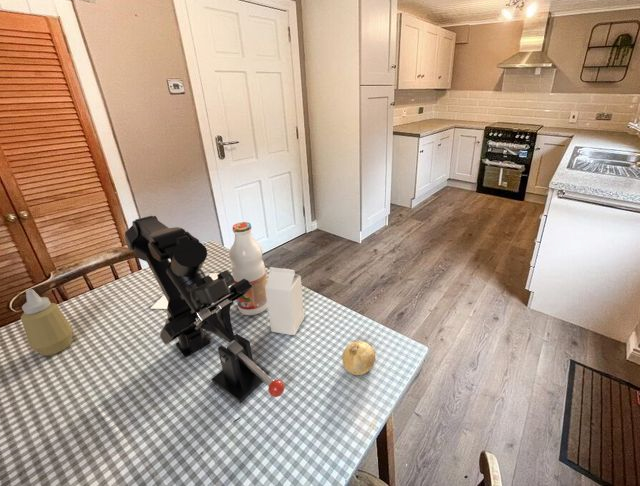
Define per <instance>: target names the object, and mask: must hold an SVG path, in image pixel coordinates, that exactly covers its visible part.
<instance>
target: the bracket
mask: <svg viewBox="0 0 640 486" xmlns="http://www.w3.org/2000/svg"><path fill="white" fill-rule="evenodd" d="M234 337H235V340H233V342H234V341H236V342H238V343H239V344H240V345H241V346H242V347H243V353H244V354H245V355H246V356H247V357H248V358H249V359H250V360H251V361H252V362H254V359H253V352H252V348H251V342H250V340H249V339H247V338H245V337H243V336H242V335H240V334H238V333H235V334H234ZM217 352H218V356H219V361H220V365H221V371H219V372H218V373H217V374H215V375H214V376H213V377H212V378H211V383H212V384H213V385H215V386H216V387H218V388H219V389H220V390H221V391H222V392H224V393H225V394H227V395H228V396H229V397H231V398H232V399H234V400H235V401H236V402H237V403H239V404H242V403H243V402H244V401H245V400H246V399H247V398H248V397H249V396H250V395H251V394H252V393H253V392H254V391H255V390H256V389H257V388H258V387H260V386H261V384H263V383H264V382H263V381H262V380H261V379H260V378H259V377H258V376H257V375H256V374H255V373H254V372H253V371H251V370H250V369H249V368H248V367H247V366H246V365H245V364H244V363H243V362H242V361H241V360H239V359H237V360H235V355H234V353H233V352H231V351H230V350H228V349H227V347H225V346H224V345H222V344H221V345H219V346H218V347H217ZM258 367H259V368H260V369H261V370H262V371H264V372H265V373H266V374H267V375H268V376H269V377H270V375H269V372H268V371H266V370H265V369H263V368H261V367H260V366H258Z"/></svg>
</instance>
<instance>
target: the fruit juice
mask: <svg viewBox="0 0 640 486" xmlns="http://www.w3.org/2000/svg"><path fill="white" fill-rule="evenodd" d="M232 232H233V233H234V241H233V244H232V245H231V247H230V249H229V251H228V252H229V253H228V258H229V261H230V262H231V264H232V266H231V273H232V276H233V278H234V280H235V283H237V282H239V281H241V280H242V279H246V280H249V281H250V283H251V284H252V285H253V287H252V288H251V289H250V290H249V291H248V292H247V293H246V294H244V295H243V296H241V297H240V298H238V299H237V300H236V304H237V309H238V311H239V312H240V314H242V315H245V316H255V315H258V314H261V313H263V312H264V311H266V310H268V305H267V298H266V291H265V286H266V282H267V279H268V276H267V271H266V266H265V262H264V260H263V253H264V252H263V248H262V246H261V243H259V242H258V241H257V240H256V239H255V238H254V236H253V234H252V224H251V223H250V222H248V221H241V222H237V223H235V224H233V225H232ZM235 283H234V284H235ZM234 284H233V285H234Z"/></svg>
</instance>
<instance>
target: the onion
mask: <svg viewBox="0 0 640 486" xmlns="http://www.w3.org/2000/svg"><path fill="white" fill-rule="evenodd" d="M341 360H342V361H341V362H342V365H343V367H344V369H345V370H346V372H348V373H349V374H351V375H353V376H362V375H365V374H367V373H368V372H369V371H371V369H372V368H373V367H374V365H375V361H376V353H375V350H374V349H373V347H372V346H371V345H370V344H369V343H367V342H365V341H361V340H356V341H353V342H350V344H348V345H347V346H346V347H345V348H344V350H343V352H342V356H341Z"/></svg>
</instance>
